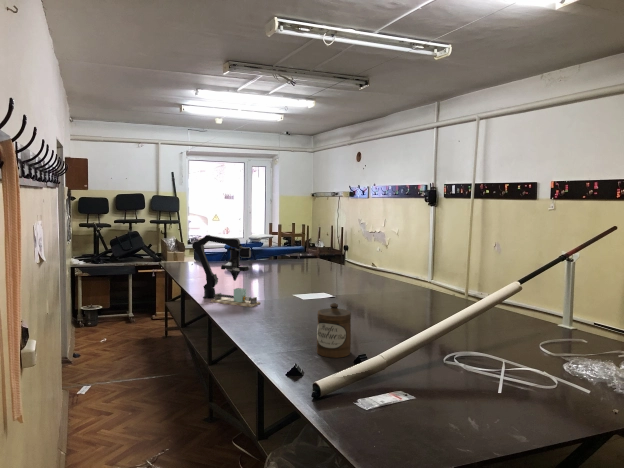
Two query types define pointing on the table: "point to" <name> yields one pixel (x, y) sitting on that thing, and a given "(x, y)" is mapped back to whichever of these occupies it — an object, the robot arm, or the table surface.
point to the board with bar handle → (232, 302)
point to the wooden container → (334, 332)
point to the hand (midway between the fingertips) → (234, 280)
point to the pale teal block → (239, 294)
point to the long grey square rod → (233, 297)
